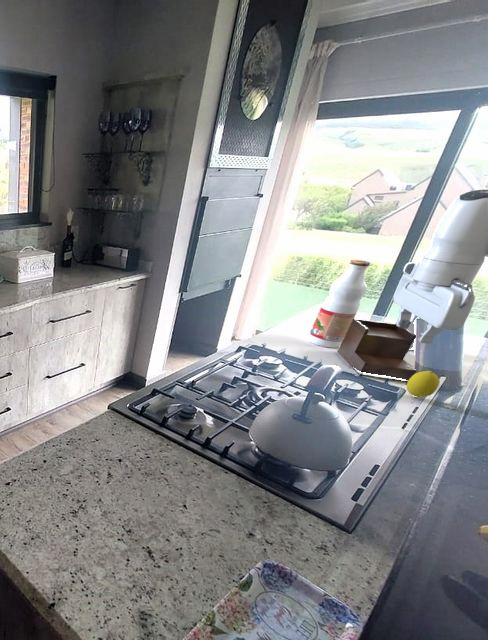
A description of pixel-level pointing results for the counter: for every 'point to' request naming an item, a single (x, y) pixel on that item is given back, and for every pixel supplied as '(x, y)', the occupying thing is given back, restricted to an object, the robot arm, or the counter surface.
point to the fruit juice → (340, 306)
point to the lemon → (423, 384)
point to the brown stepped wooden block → (378, 348)
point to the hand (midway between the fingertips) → (411, 334)
